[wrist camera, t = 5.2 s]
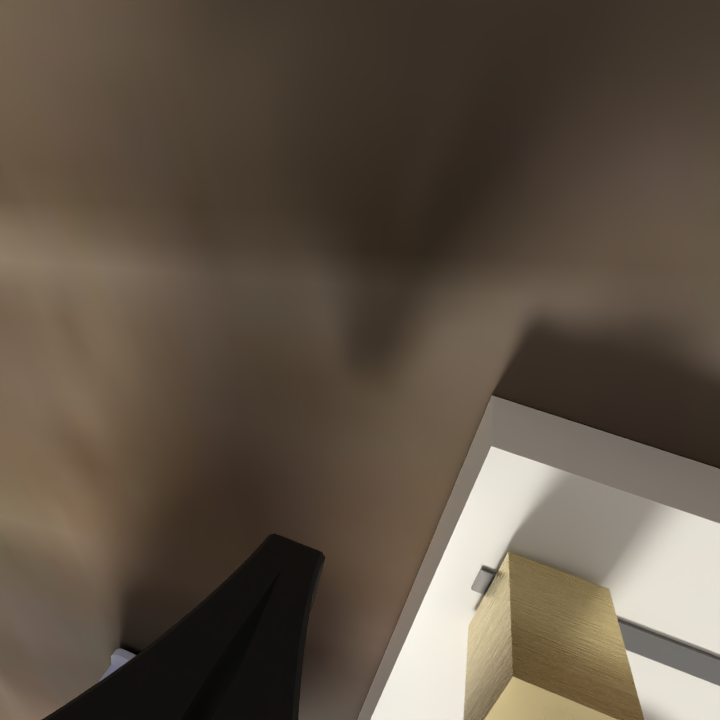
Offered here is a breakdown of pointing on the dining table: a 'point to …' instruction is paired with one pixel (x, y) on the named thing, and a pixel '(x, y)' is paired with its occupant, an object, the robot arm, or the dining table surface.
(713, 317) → the dining table surface
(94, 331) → the dining table surface
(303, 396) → the dining table surface
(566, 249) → the dining table surface
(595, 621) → the brass slider
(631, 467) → the white flat block
